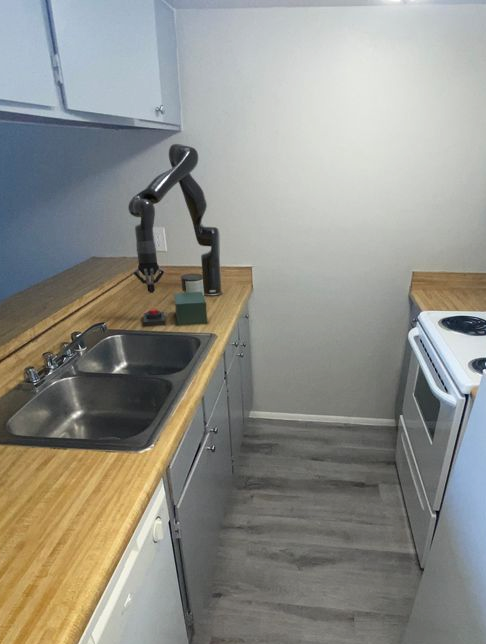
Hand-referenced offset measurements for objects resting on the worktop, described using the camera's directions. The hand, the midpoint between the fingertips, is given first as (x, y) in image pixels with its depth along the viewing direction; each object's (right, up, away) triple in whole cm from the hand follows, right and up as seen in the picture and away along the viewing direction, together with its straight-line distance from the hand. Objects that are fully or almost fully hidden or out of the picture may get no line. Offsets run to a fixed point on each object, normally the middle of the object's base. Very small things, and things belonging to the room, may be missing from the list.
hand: (151, 292), depth 201 cm
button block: (0, -11, +6) cm, 13 cm away
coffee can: (+14, 0, +27) cm, 31 cm away
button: (0, -8, +5) cm, 9 cm away
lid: (+15, -2, +6) cm, 16 cm away
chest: (+15, -10, +10) cm, 20 cm away
